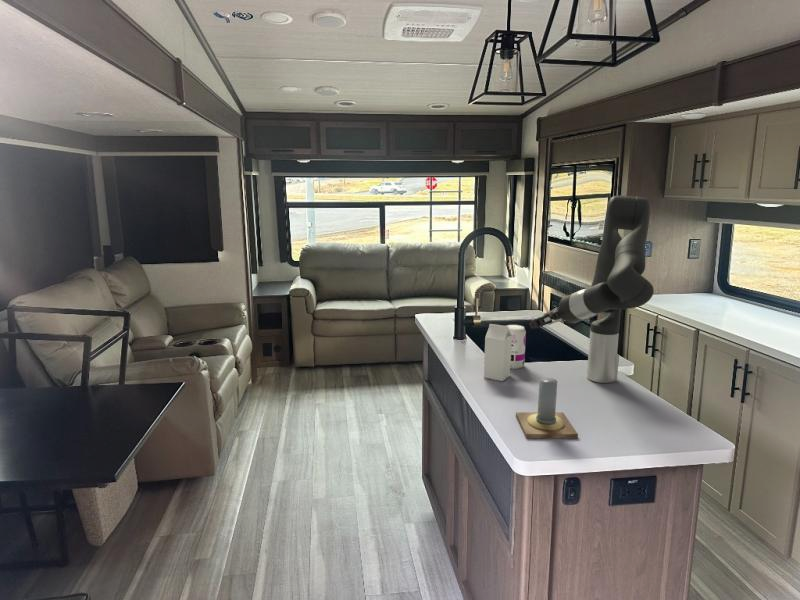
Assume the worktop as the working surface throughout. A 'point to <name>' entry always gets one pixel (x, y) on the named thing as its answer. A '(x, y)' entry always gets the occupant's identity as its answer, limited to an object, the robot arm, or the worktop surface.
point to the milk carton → (497, 352)
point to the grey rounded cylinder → (547, 401)
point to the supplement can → (517, 346)
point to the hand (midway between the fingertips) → (541, 321)
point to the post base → (545, 426)
